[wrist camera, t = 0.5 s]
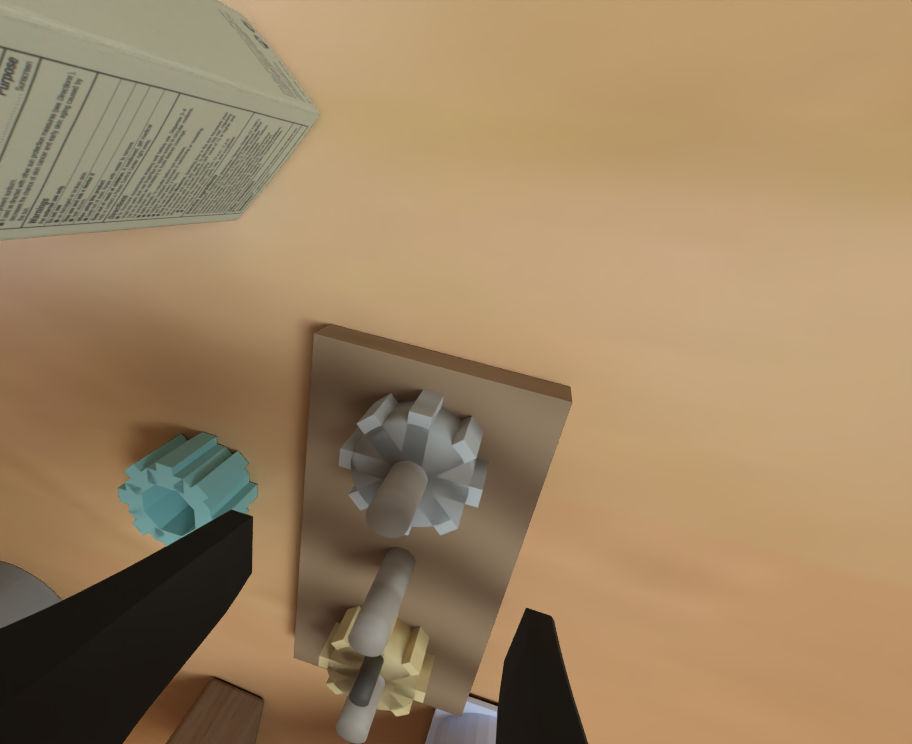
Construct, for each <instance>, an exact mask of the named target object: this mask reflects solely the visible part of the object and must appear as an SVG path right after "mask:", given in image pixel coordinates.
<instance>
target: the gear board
mask: <svg viewBox="0 0 912 744" xmlns="http://www.w3.org/2000/svg"><path fill="white" fill-rule="evenodd" d="M571 405H572V396H571V388H570V387H568V386H564V385H561V384H557V383H553V382H549V381H545V380H542V379H538V378H534V377H530V376H526V375H523V374H519V373H515V372H511V371H507V370H504V369H500V368H496V367H492V366H488V365H485V364H481V363H477V362H473V361H469V360H465V359H462V358H458V357H454V356H450V355H446V354H443V353H439V352H435V351H431V350H427V349H424V348H420V347H416V346H412V345H408V344H405V343H401V342H397V341H393V340H389V339H386V338H382V337H378V336H374V335H370V334H366V333H363V332H359V331H355V330H351V329H347V328H344V327H340V326H336V325H332V324H330V325H328V326H326V327H324V328H322V329H321V330H319V331H317V332H315V333H314V336H313V352H312V369H311V385H310V401H309V417H308V433H307V449H306V466H305V482H304V498H303V514H302V530H301V546H300V562H299V579H298V595H297V611H296V627H295V643H294V658H296V659H299V660H302V661H305V662H307V663H310V664H313V665H316V666H319V667H321V668H324V669H327V670H328V673H329V676H330V677H329V679H328V681H327V683H326V685H327V686H328V687H329V688H330V689H331V690H332V691H333V692H334V693H335V694H341V693H343V694H345V695H346V696H347V699H346V702H345V704H344V707H343V709H342V712H341V714H340V717H339V719H338V722H337V724H336V727H335V729H336V732H337V734H338V735H339V736H340V737H341V738H343V739H344V740H346V741H348V742H351V743H356V744H360V743H364V742H365V741H366V739H367V736H368V733H369V730H370V727H371V724H372V721H373V718H374V715H375V712H376V709H378V710H391V711H392V712H393V713H394V714H395V716H396V717H397V716H402V715H407V714H409V712H410V709H411V705H412V701H413V700H414V701H417V702H420V703H423V704H425V705H428V706H431V707H434V708H437V709H439V710H442V711H445V712H448V713H451V714H453V715H456V716H459V717H461V716H462V713H463V710H464V708H465V705H466V702H467V699H468V696H469V693H470V691H471V688H472V685H473V682H474V679H475V676H476V674H477V671H478V668H479V665H480V662H481V659H482V657H483V654H484V651H485V648H486V645H487V642H488V640H489V637H490V634H491V631H492V628H493V625H494V623H495V620H496V617H497V614H498V611H499V608H500V606H501V603H502V600H503V597H504V594H505V591H506V589H507V586H508V583H509V580H510V577H511V574H512V572H513V569H514V566H515V563H516V560H517V557H518V555H519V552H520V549H521V546H522V543H523V540H524V538H525V535H526V532H527V529H528V526H529V523H530V521H531V518H532V515H533V512H534V509H535V507H536V504H537V501H538V498H539V495H540V492H541V490H542V487H543V484H544V481H545V478H546V475H547V473H548V470H549V467H550V464H551V461H552V458H553V456H554V453H555V450H556V447H557V444H558V441H559V439H560V436H561V433H562V430H563V427H564V424H565V422H566V419H567V416H568V413H569V410H570V407H571Z"/></svg>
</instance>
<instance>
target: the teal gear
mask: <svg viewBox="0 0 912 744" xmlns="http://www.w3.org/2000/svg"><path fill="white" fill-rule="evenodd" d="M247 464H248V462H247V461H246V460H245V459H244V457H243V456H242V455H241V454H240V453H239V451H237V452H235V453H234V454H232V453H231V452H230V451H229V450H228V449H227V447H225V446H222V445H219V444H217V436H214V435H210V434H207V433H204V432H201V433H199V434H198V435H196V436H195V437H192V438H191V439H189V440H187V439H186V438H185V437H184V436H183V435H182V434H180V435H179V436H177V437H176V438H174V439H172V440H171V441H169V442H168V443H166V444H164V445H163V446H161V447H160V448H158V449H157V450H155V451H153V452H152V453H150V454H149V455H147V456H145V457H144V458H142V459H141V460H139V461H138V462H136V463H134V464H133V465H131V466H130V467H129V468H127V469H126V470H124V472H125V473H126V474H127V475H128V476H129V477H130V478H131V479H129V480H128V481H126V482H125V483H124V484H123V485H121V486H120V487H118V493H119V499H120V502H123V503H126V504H128V505H129V512H130V513H131V514H132V515H133V516H134V517H135V518H136V520H135V521H133V522H132V524H133V525H134V526H135V527H136V528H137V529H138V530H139V531H140V532H141V533H142V534H143V535H145V534H147V533H148V532H149V533H150V534H151V535H152V536H153V537H154V538H155V539H156V540H158V541H161V542H164V543H165V547H166V546H168V545H170V544H171V543H173V542H175V541H177V540H178V539H180V538H182V537H184V536H186V535H187V534H189V533H191V532H192V531H194V530H196V529H198V528H199V527H201V526H203V525H205V524H206V523H208V522H210V521H212V520H213V519H215V518H217V517H219V516H220V515H222V514H224V513H226V512H228V511H230V510H231V509H232V510H235V511H238V512H241V513H244V514H247V513H248V510H247V507H248V506H249V505H250V504H251V503H252V502H253V501H254V500H255V498H256V497H257V484H254V483H251V482H249V473H248V472H247V471H246V470H245V469H244V467H245V466H246V465H247Z"/></svg>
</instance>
